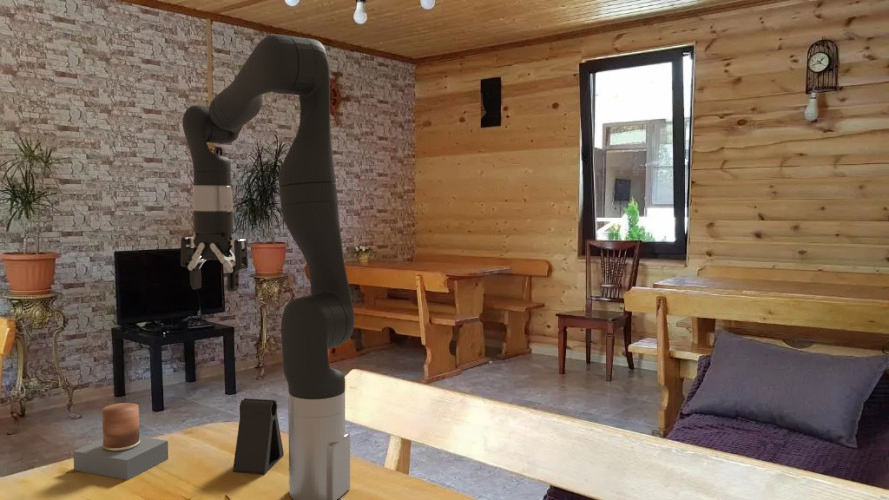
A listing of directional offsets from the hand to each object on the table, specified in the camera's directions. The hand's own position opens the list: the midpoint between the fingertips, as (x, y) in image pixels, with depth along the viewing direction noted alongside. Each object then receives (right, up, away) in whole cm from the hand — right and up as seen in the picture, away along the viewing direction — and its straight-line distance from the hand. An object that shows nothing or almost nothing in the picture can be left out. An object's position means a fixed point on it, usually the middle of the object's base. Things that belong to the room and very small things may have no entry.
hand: (214, 289), depth 138 cm
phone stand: (+12, -32, -11) cm, 36 cm away
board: (-13, -31, -12) cm, 36 cm away
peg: (-13, -31, -12) cm, 35 cm away
